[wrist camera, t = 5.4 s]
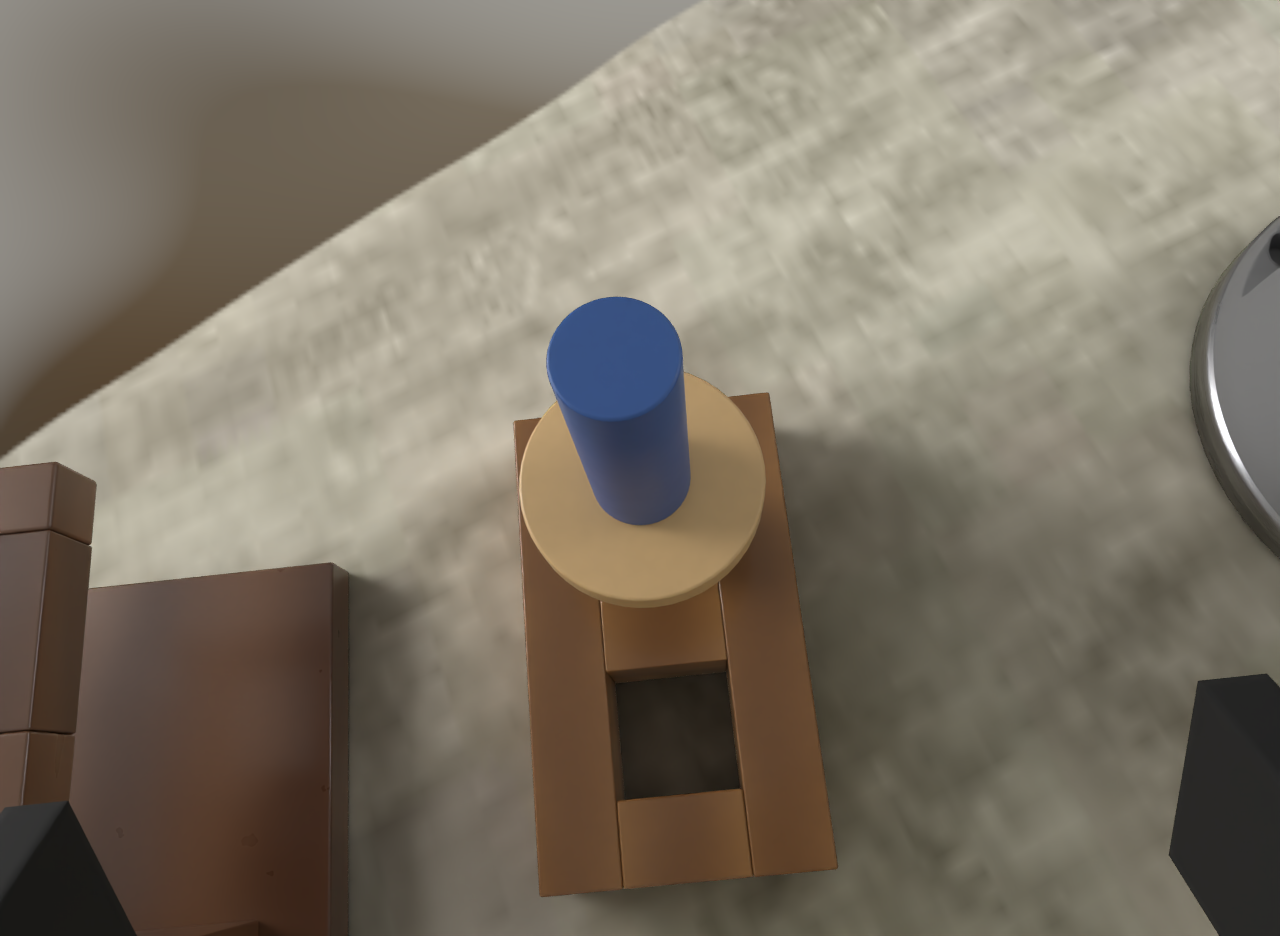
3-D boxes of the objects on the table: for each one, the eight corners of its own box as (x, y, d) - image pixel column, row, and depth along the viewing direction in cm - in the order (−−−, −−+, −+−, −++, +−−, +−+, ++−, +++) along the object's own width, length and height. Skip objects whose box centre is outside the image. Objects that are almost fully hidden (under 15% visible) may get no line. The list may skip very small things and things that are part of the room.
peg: (740, 455, 32) (762, 189, 18) (764, 638, 30) (810, 502, 16) (558, 475, 33) (439, 228, 18) (571, 658, 31) (449, 540, 16)
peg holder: (764, 426, 33) (768, 391, 30) (826, 861, 28) (838, 869, 25) (530, 452, 33) (512, 420, 30) (556, 887, 29) (539, 897, 26)
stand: (349, 571, 32) (149, 449, 21) (349, 982, 28) (104, 1110, 17) (-10, 610, 32) (-400, 511, 21) (-58, 1020, 29) (-565, 1169, 17)
